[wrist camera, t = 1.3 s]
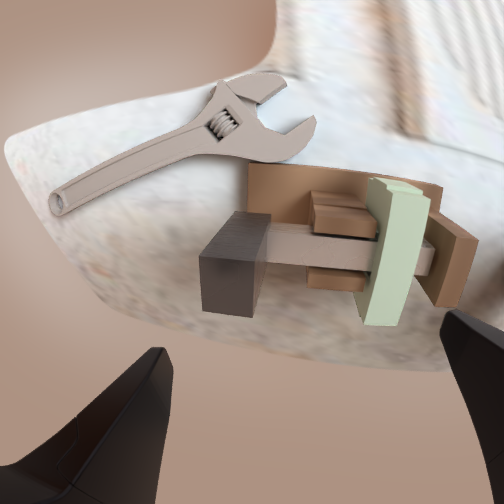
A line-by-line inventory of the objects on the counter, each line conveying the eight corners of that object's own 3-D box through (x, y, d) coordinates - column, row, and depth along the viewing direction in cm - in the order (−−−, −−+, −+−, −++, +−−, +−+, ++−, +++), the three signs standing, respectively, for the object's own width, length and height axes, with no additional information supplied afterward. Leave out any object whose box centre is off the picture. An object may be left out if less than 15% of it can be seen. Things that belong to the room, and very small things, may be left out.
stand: (436, 184, 17) (497, 215, 10) (418, 268, 20) (459, 328, 13) (251, 161, 19) (220, 178, 12) (248, 253, 22) (222, 313, 14)
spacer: (399, 179, 15) (431, 195, 10) (378, 287, 18) (395, 328, 13) (369, 174, 15) (393, 188, 11) (351, 285, 18) (362, 327, 14)
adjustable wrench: (63, 215, 24) (51, 221, 22) (49, 158, 22) (37, 161, 20) (317, 154, 18) (318, 155, 16) (299, 68, 16) (299, 61, 14)
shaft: (424, 230, 14) (475, 280, 8) (415, 268, 15) (456, 328, 9) (235, 211, 15) (198, 255, 10) (234, 251, 16) (202, 311, 11)
